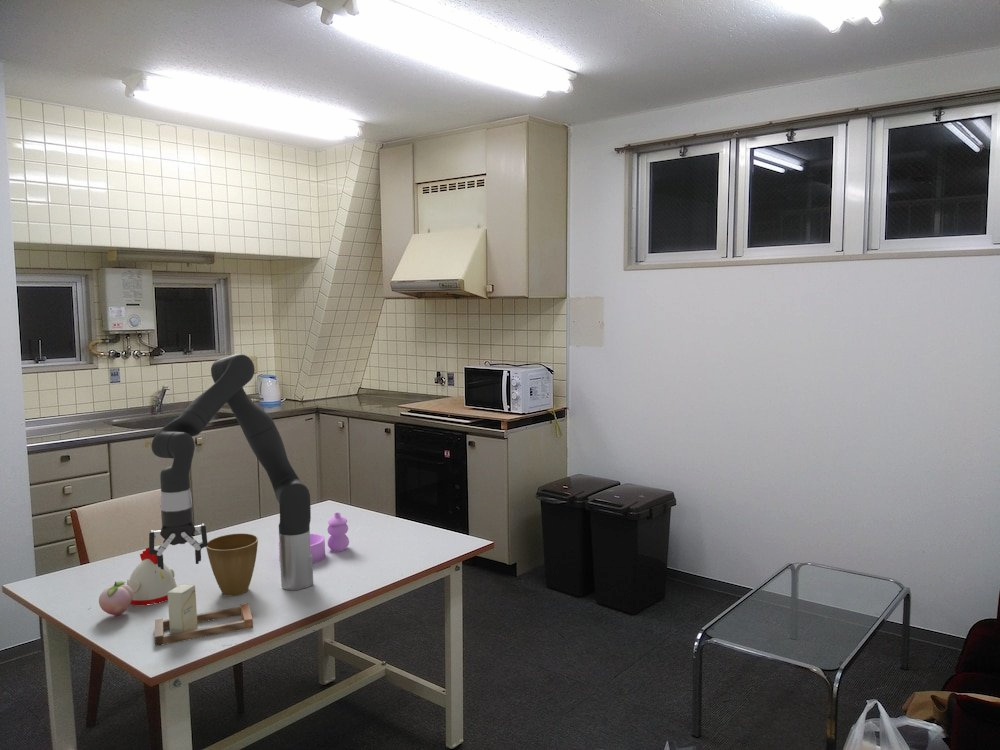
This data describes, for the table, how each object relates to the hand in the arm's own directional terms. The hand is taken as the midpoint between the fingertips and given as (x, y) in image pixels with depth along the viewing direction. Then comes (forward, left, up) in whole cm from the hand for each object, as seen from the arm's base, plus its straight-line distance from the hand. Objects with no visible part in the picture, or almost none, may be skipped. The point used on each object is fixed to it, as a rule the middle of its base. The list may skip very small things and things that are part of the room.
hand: (179, 565), depth 195 cm
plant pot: (-15, -23, -19) cm, 33 cm away
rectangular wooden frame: (-5, 0, -18) cm, 19 cm away
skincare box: (0, 0, -19) cm, 19 cm away
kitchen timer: (+8, -31, -19) cm, 37 cm away
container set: (-44, -45, -19) cm, 66 cm away
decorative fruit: (+17, -20, -19) cm, 32 cm away
